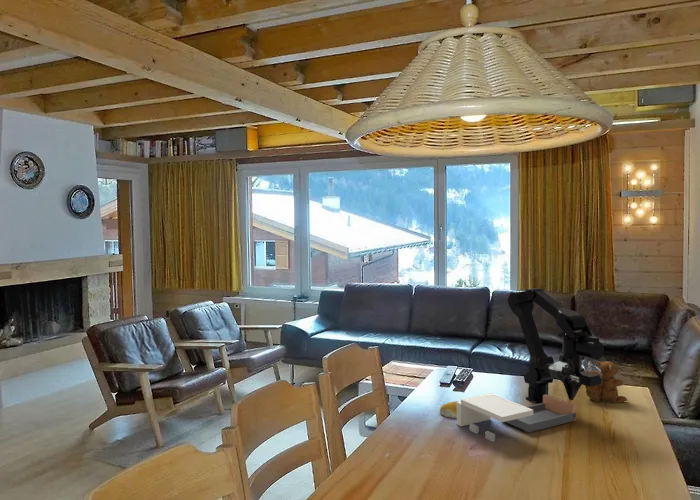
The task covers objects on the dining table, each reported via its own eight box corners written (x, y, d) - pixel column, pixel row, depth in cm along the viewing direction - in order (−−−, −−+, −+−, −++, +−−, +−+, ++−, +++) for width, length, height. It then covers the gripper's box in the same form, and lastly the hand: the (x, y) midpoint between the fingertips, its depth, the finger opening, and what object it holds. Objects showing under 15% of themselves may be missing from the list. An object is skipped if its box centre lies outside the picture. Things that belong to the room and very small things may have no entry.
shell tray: (546, 409, 192) (546, 394, 191) (575, 420, 181) (576, 404, 181) (500, 419, 182) (500, 404, 182) (529, 432, 172) (529, 415, 171)
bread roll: (471, 413, 191) (472, 401, 190) (456, 420, 184) (456, 408, 184) (450, 407, 196) (450, 396, 196) (435, 414, 190) (435, 402, 189)
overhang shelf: (486, 417, 186) (486, 391, 185) (533, 438, 168) (533, 409, 168) (456, 424, 180) (456, 397, 180) (502, 446, 163) (502, 417, 162)
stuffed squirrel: (629, 402, 199) (630, 364, 198) (591, 405, 197) (592, 367, 196) (612, 393, 209) (613, 357, 208) (576, 396, 207) (576, 359, 206)
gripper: (532, 349, 192) (531, 395, 193) (578, 362, 176) (577, 412, 177) (556, 345, 197) (555, 390, 198) (603, 357, 181) (602, 406, 182)
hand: (571, 399), depth 189 cm, fingers closed
